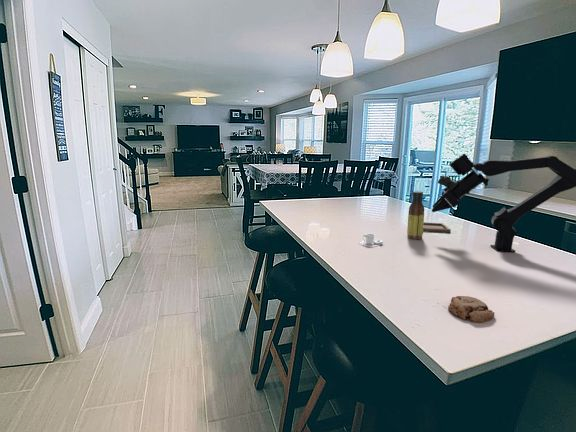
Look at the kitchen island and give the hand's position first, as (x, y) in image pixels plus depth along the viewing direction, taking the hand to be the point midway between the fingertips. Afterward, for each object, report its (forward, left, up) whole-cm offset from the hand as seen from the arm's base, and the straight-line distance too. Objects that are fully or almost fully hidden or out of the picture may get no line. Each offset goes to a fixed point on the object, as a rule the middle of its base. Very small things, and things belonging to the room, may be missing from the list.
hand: (432, 209), depth 139 cm
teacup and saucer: (-13, +24, -14) cm, 31 cm away
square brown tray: (+20, -6, -13) cm, 24 cm away
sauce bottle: (+2, +6, -13) cm, 15 cm away
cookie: (-62, +6, -14) cm, 64 cm away
